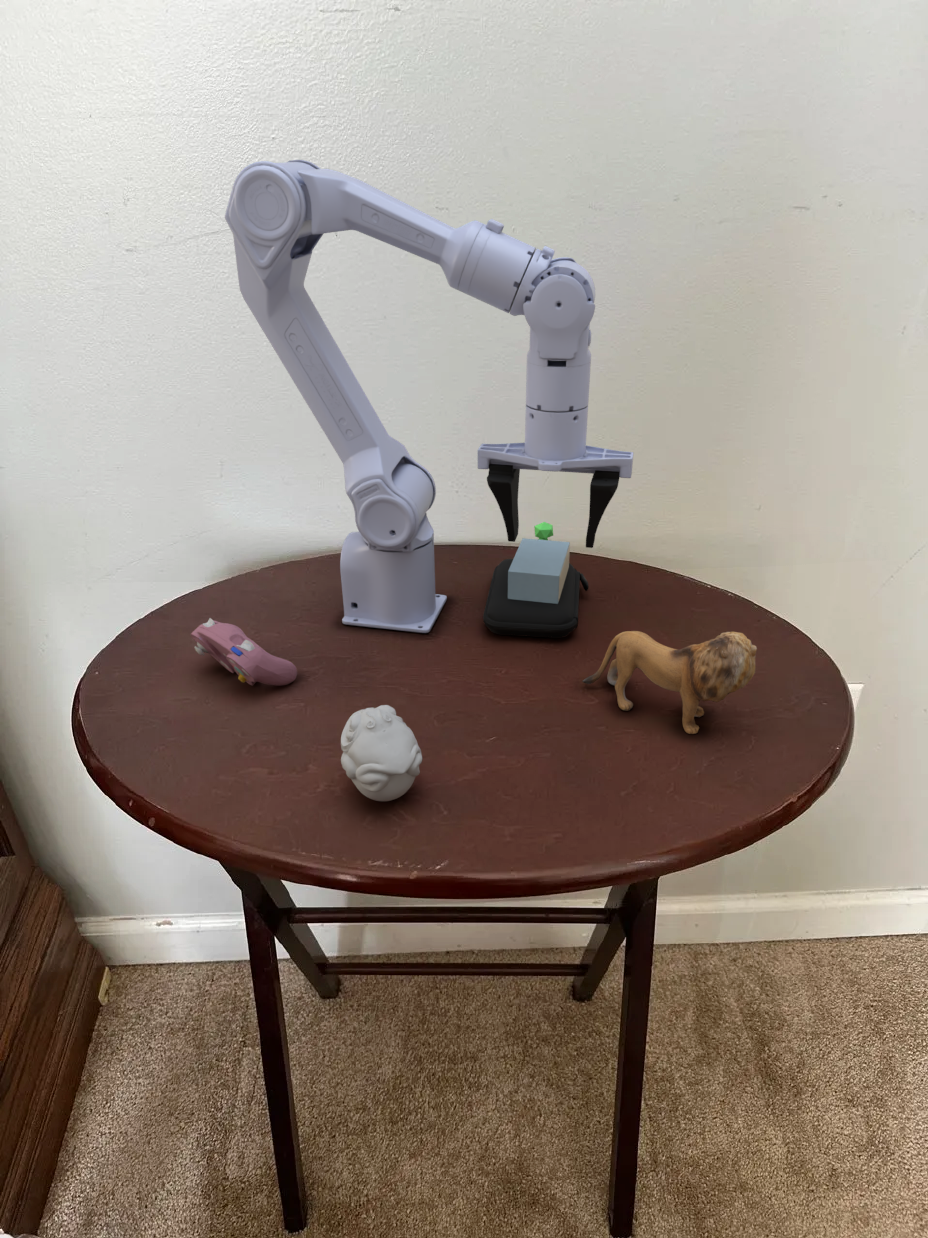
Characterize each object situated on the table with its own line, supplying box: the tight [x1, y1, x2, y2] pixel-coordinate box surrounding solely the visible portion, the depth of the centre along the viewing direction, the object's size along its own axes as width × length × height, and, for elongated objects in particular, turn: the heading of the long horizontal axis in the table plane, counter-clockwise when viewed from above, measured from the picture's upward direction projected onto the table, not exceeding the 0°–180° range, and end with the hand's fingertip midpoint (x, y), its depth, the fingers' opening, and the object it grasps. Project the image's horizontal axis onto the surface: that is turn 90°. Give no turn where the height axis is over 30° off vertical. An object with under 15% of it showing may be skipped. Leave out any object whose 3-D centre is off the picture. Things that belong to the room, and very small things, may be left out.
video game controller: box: [190, 617, 298, 687], centre depth 79 cm, size 10×5×7 cm, turn 47°
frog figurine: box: [340, 704, 423, 802], centre depth 64 cm, size 6×7×7 cm
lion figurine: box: [581, 630, 758, 735], centre depth 73 cm, size 15×5×9 cm, turn 62°
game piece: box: [533, 521, 554, 540], centre depth 99 cm, size 4×4×6 cm
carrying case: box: [482, 558, 589, 639], centre depth 91 cm, size 11×3×15 cm
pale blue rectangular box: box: [508, 537, 571, 604], centre depth 89 cm, size 5×8×3 cm, turn 167°
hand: (551, 540), depth 84 cm, fingers open, 7 cm apart
